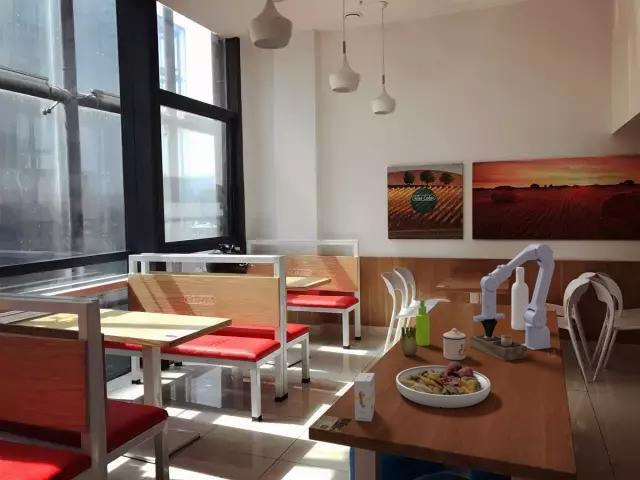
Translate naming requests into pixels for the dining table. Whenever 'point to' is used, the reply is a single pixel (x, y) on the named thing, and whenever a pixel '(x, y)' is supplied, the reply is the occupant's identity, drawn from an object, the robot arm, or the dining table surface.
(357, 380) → the ink box
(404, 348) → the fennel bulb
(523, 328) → the bottle
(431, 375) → the bowl
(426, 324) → the soap dispenser
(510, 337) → the peg
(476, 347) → the walnut block
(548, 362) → the dining table surface
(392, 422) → the dining table surface
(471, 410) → the dining table surface
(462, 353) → the teacup with lid
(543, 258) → the robot arm
